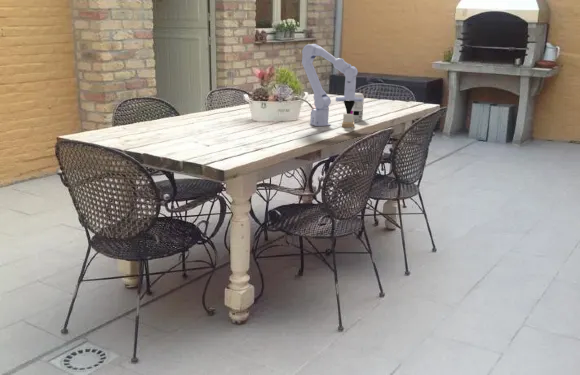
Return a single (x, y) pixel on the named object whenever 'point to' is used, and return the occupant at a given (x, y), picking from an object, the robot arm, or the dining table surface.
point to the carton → (347, 125)
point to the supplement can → (358, 108)
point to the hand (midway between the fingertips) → (348, 114)
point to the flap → (348, 118)
